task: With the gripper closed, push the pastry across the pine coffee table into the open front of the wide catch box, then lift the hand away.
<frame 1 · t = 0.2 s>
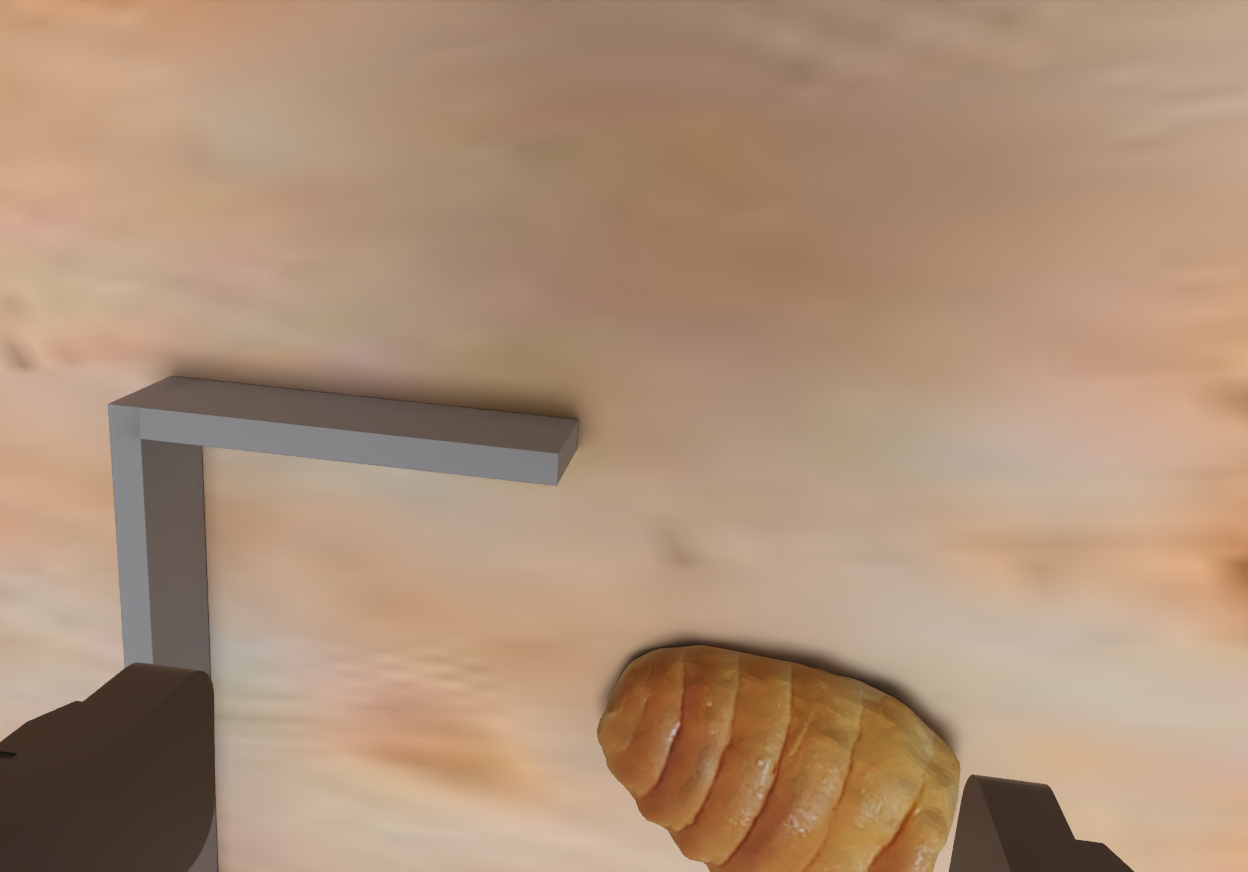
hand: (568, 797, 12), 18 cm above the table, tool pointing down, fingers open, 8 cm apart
pastry: (786, 757, 31), on the table
catch box: (388, 724, 32), on the table
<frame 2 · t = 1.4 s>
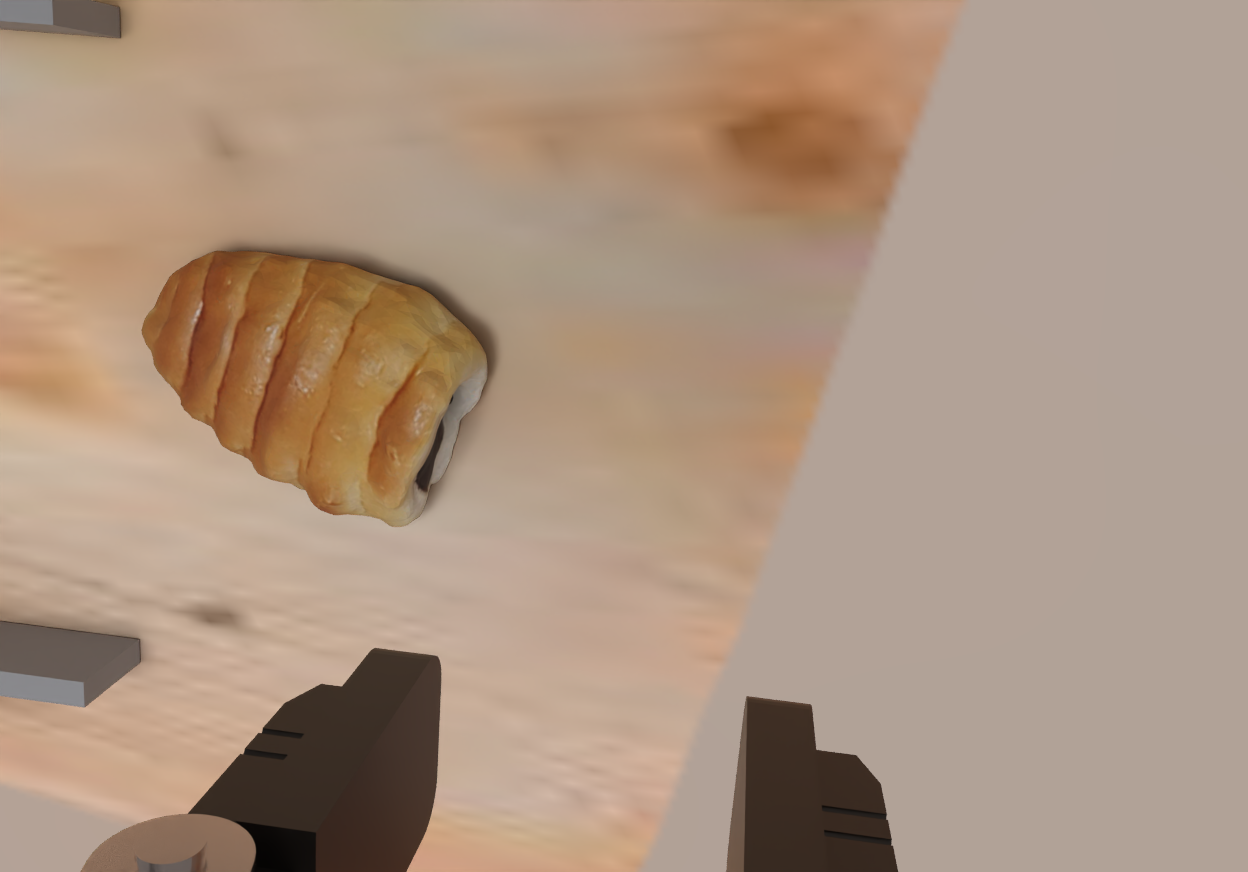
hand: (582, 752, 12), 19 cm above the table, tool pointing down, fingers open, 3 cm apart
pastry: (348, 376, 32), on the table
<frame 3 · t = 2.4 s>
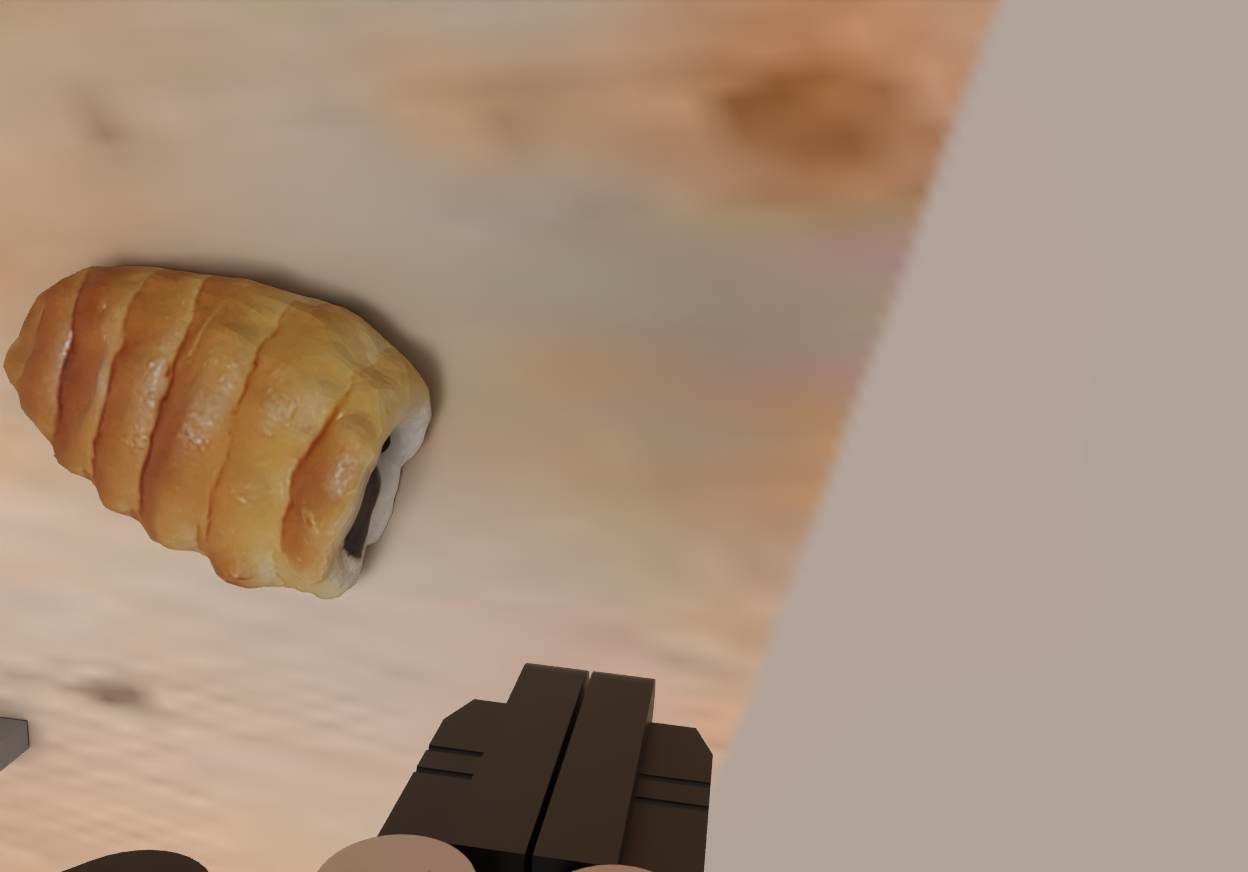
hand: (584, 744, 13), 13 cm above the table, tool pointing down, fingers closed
pastry: (265, 415, 27), on the table
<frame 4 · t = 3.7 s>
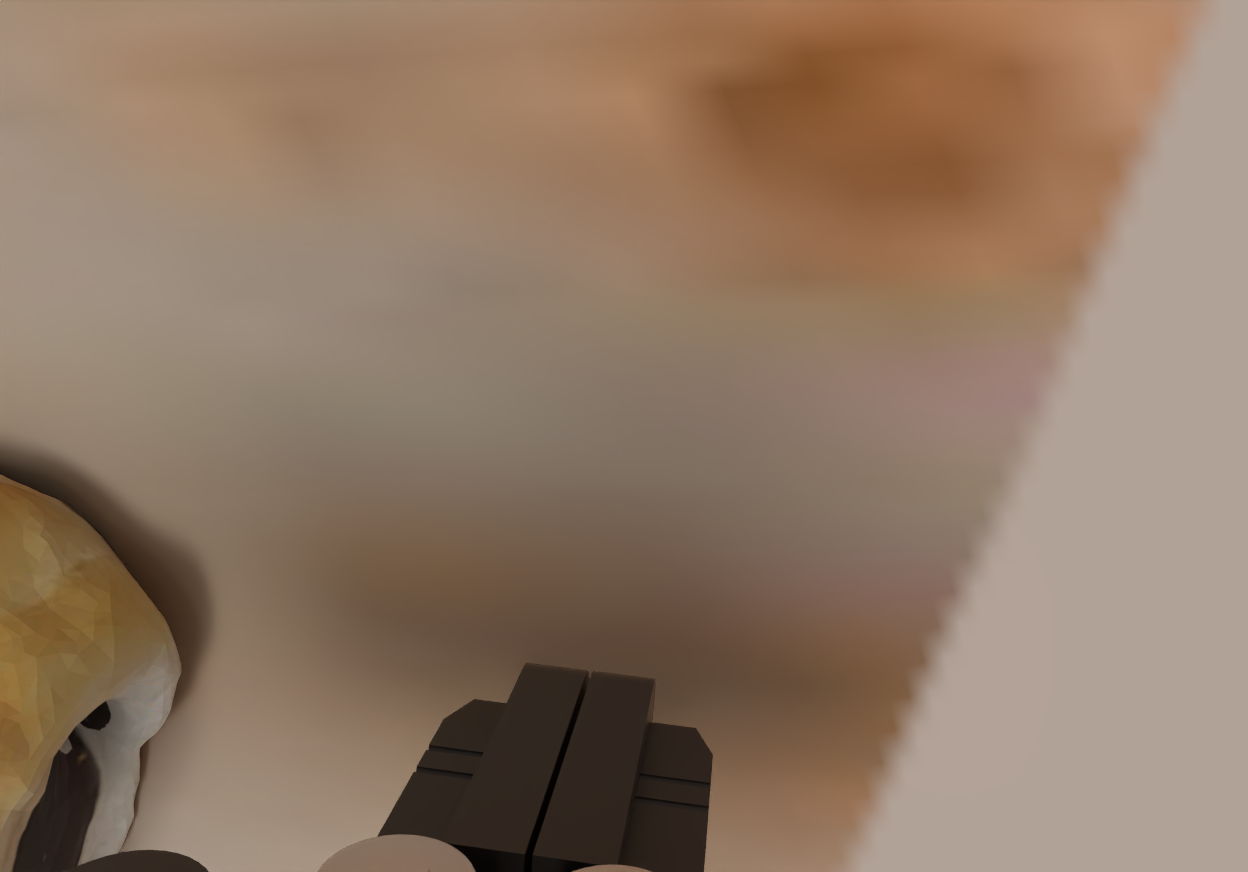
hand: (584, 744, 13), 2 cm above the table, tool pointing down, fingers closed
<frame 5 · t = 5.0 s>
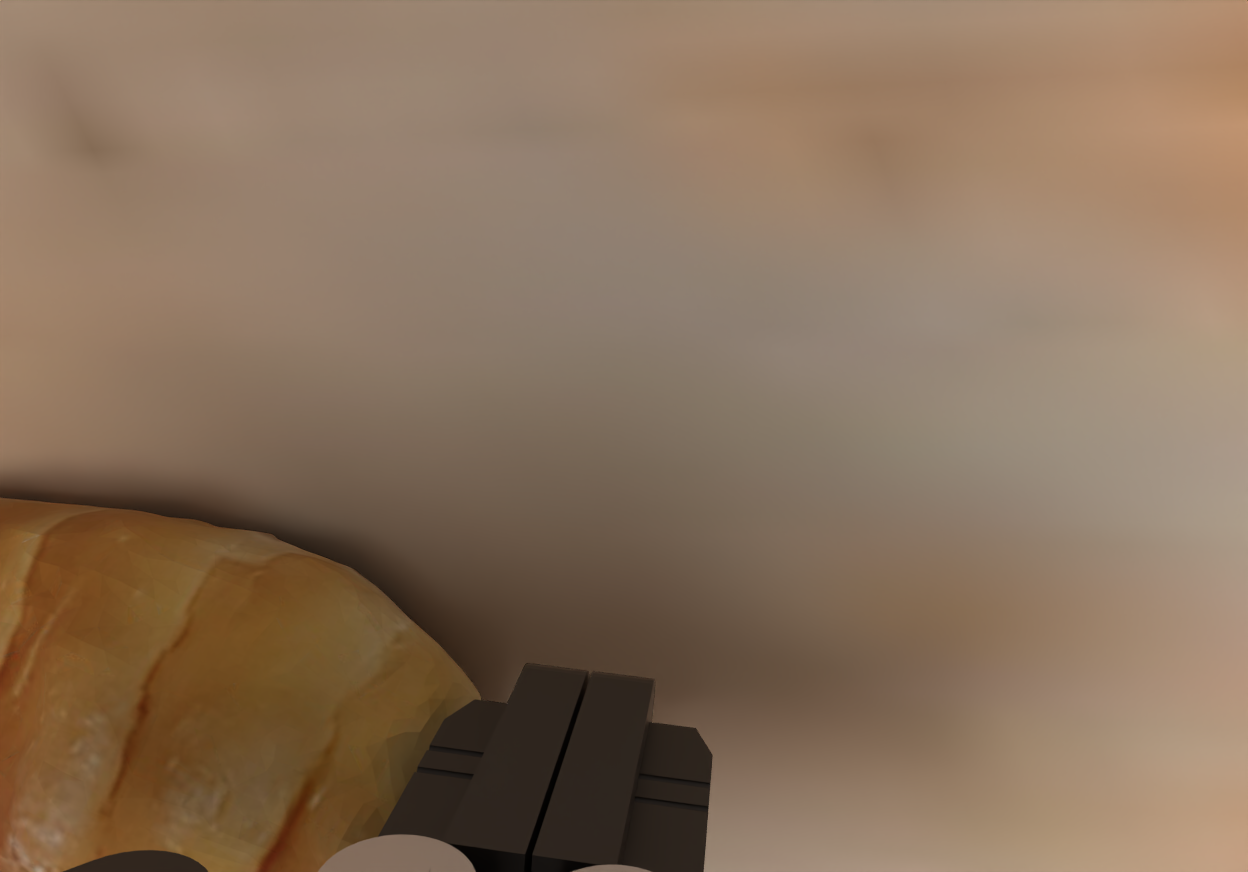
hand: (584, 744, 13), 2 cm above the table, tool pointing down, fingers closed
pastry: (195, 721, 15), on the table, touching gripper
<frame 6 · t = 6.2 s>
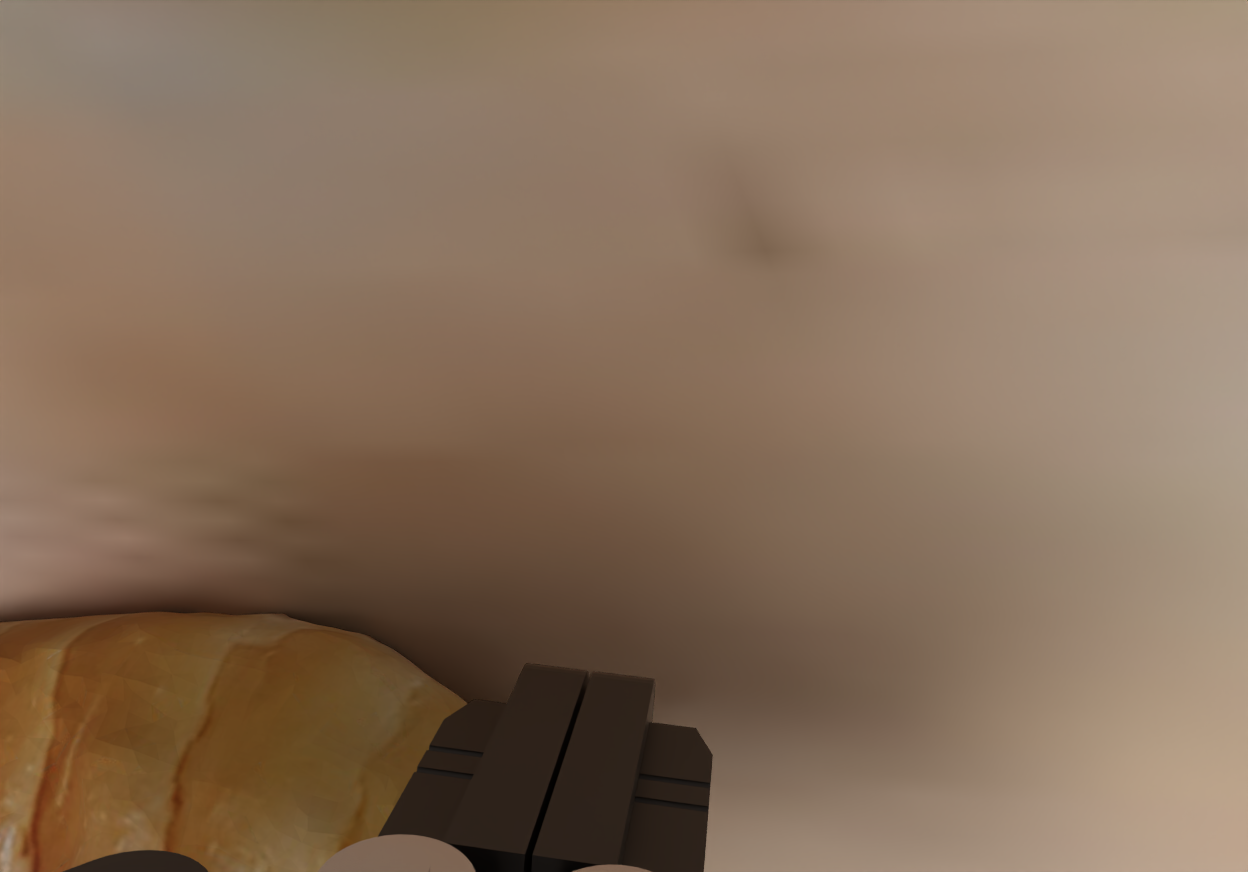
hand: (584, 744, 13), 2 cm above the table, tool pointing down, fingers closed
pastry: (246, 806, 16), on the table, touching gripper
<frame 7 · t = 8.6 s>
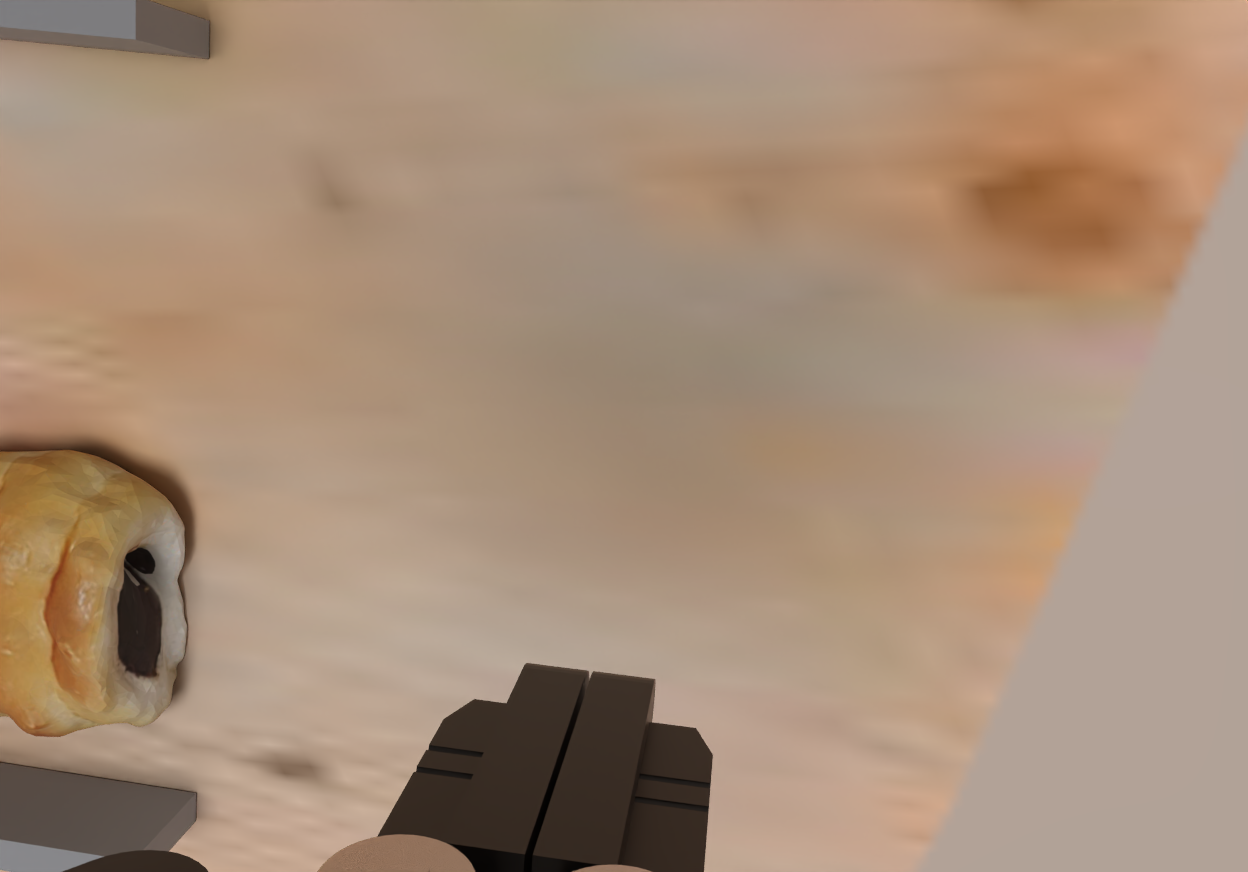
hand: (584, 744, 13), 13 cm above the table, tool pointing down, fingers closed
pastry: (53, 572, 28), on the table
catch box: (4, 428, 27), on the table
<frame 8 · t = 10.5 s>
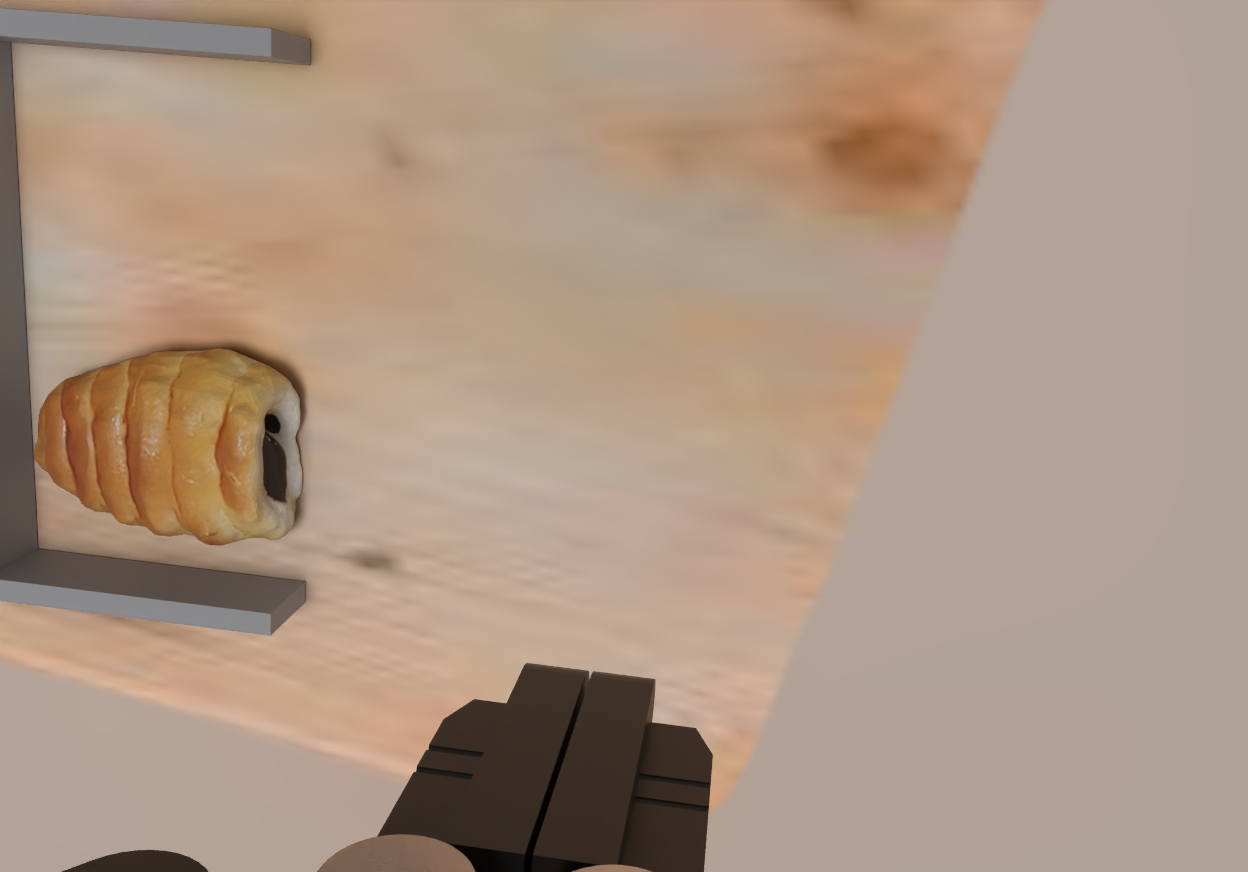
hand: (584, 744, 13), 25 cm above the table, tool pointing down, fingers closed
pastry: (206, 439, 40), on the table
catch box: (170, 324, 39), on the table
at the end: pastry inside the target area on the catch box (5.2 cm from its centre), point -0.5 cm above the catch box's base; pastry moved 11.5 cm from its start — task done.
